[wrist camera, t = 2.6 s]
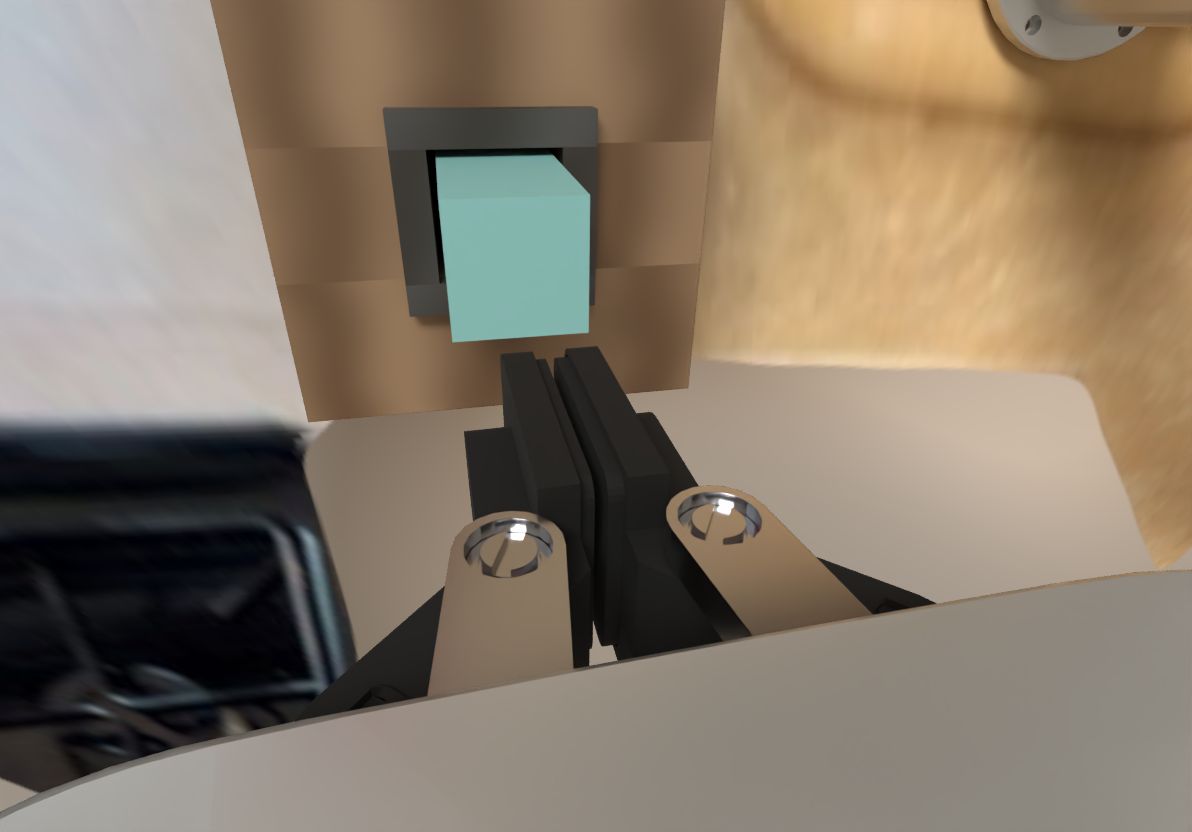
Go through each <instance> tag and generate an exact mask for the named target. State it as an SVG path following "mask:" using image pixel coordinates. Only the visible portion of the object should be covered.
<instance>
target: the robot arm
mask: <svg viewBox="0 0 1192 832" xmlns="http://www.w3.org/2000/svg"><path fill="white" fill-rule="evenodd" d="M986 1H987V3H988V6H989V9H990V11H991V14H992V17H993V20H994V21H995V23H996V24H997V26H998V27H999V29H1000V30H1001V32H1002V33H1003V35H1004V36H1005V38H1007V39H1008V40H1009V41H1010V42H1011V43H1012V44H1013V45H1015V46H1016V47H1017V48H1018V49H1019V50H1021V51H1023V52H1025V53H1028V54H1030V55H1032V56H1034V57H1036V58H1043V59H1050V60H1082V59H1086V58H1090V57H1095V56H1099V55H1101V54H1103V53H1105V52H1108V51H1110V50H1112V49H1114V48H1117V47H1119V46H1121V45H1122V44H1124V43H1125V42H1127V41H1128V40H1130V39H1131V38H1133V37H1134V36H1136V35H1137V34H1139V33H1140V32H1142V31H1143V30H1144V29H1145V28H1146V27H1192V0H986ZM500 366H501V382H502V398H503V414H504V427H502V428H493V429H484V430H473V431H464V437H465V447H466V458H467V468H468V478H469V488H470V497H471V506H472V515H473V522H472V523H470V524H468V525H467V526H465V527H464V528H463V529H462V530H461V532H460V533H459V534H458V535H457V536H456V537H455V540H454V542H453V545H452V547H451V551H450V558H449V563H448V570H447V576H446V583H445V586H444V587H443V588H442V589H441V590H439V591H438V592H437V593H436V594H435V595H434V596H432V597H431V598H430V599H429V600H428V601H427V602H426V603H424V604H423V605H422V606H421V607H420V608H419V609H418V610H416V611H415V612H414V613H413V614H412V615H411V616H409V617H408V618H407V619H406V620H405V621H404V622H403V623H401V624H400V625H399V626H398V627H397V628H396V629H395V630H393V631H392V632H391V633H390V634H389V635H388V636H387V637H385V638H384V639H383V640H382V641H381V642H380V643H379V644H377V645H376V646H375V647H374V648H373V649H372V650H370V651H369V652H368V653H367V654H366V655H365V656H364V657H362V658H361V659H360V660H359V661H358V662H357V663H355V664H354V665H353V666H352V667H351V668H350V669H349V670H347V671H346V672H345V673H344V674H343V675H342V676H341V677H339V678H338V679H337V680H336V681H335V682H334V683H332V684H331V685H330V686H329V687H328V688H327V689H326V690H324V691H323V692H322V693H321V694H320V695H319V696H318V697H316V698H315V699H314V700H313V701H312V702H311V703H310V704H309V705H308V706H307V707H306V708H305V709H304V711H303V712H302V713H301V714H300V715H299V716H298V717H297V718H296V720H295V722H291V723H286V724H282V725H277V726H273V727H268V728H264V729H259V730H255V731H250V732H246V733H241V734H237V735H232V736H228V737H223V738H218V739H214V740H209V741H205V742H200V743H196V744H191V745H187V746H182V747H178V748H174V749H171V750H167V751H164V752H160V753H157V754H154V755H150V756H147V757H143V758H140V759H136V760H133V761H129V762H126V763H122V764H119V765H115V766H112V767H109V768H106V769H104V770H101V771H98V772H96V773H93V774H90V775H88V776H85V777H82V778H80V779H77V780H74V781H71V782H69V783H66V784H63V785H61V786H58V787H55V788H53V789H50V790H47V791H45V792H42V793H39V794H37V795H35V796H33V797H30V798H29V799H27V800H24V801H22V802H20V803H18V804H16V805H14V806H11V807H9V808H7V809H5V810H3V811H1V812H0V832H1192V570H1167V571H1152V572H1151V571H1149V572H1133V573H1126V574H1119V575H1111V576H1105V577H1097V578H1090V579H1083V580H1075V581H1069V582H1061V583H1054V584H1048V585H1043V586H1037V587H1031V588H1025V589H1019V590H1014V591H1008V592H1002V593H996V594H990V595H985V596H979V597H973V598H967V599H962V600H956V601H950V602H944V603H938V604H936V603H935V602H932V601H930V600H928V599H926V598H924V597H922V596H920V595H917V594H915V593H912V592H910V591H907V590H904V589H901V588H898V587H896V586H893V585H891V584H888V583H885V582H883V581H880V580H877V579H874V578H872V577H869V576H866V575H863V574H861V573H858V572H856V571H853V570H850V569H847V568H845V567H842V566H839V565H837V564H834V563H831V562H829V561H826V560H823V559H820V558H818V557H815V556H814V555H813V554H812V552H811V551H810V550H809V549H807V547H806V546H805V545H804V544H803V543H801V541H800V540H799V539H798V538H797V537H796V536H795V535H794V534H793V533H792V532H791V531H790V530H789V529H788V528H787V527H786V526H785V525H784V524H783V523H782V522H781V521H780V520H779V519H778V518H777V517H776V516H775V515H774V514H773V513H772V512H771V511H770V510H769V509H768V508H767V507H766V506H765V505H764V504H762V503H761V502H760V501H758V500H757V499H756V498H755V497H753V496H751V495H749V494H746V493H744V492H742V491H740V490H737V489H732V488H729V487H725V486H711V485H707V486H698V484H697V483H696V481H695V480H694V478H693V476H692V475H691V473H690V471H689V470H688V468H687V467H686V465H685V463H684V462H683V460H682V458H681V457H680V455H679V453H678V452H677V450H676V449H675V447H674V446H673V444H672V442H671V440H670V439H669V437H668V436H667V434H666V432H665V431H664V429H663V427H662V426H661V424H660V423H659V421H658V419H657V418H656V416H655V415H654V414H653V413H651V412H646V413H636V412H635V411H634V409H633V407H632V405H631V404H630V402H629V400H628V398H627V397H626V395H625V393H624V391H623V390H622V388H621V386H620V384H619V383H618V381H617V379H616V377H615V375H614V374H613V372H612V370H611V368H610V367H609V365H608V363H607V361H606V360H605V358H604V356H603V354H602V353H601V351H600V349H599V348H598V347H597V346H591V347H579V348H567V349H566V350H565V354H564V357H558V358H554V378H553V376H552V373H551V370H550V368H549V365H548V363H547V360H546V359H535V356H534V353H533V351H530V352H518V353H506V354H501V355H500ZM593 622H594V625H595V628H596V632H597V635H598V638H599V641H600V644H601V646H609V645H613V647H614V650H615V654H616V657H617V660H618V661H614V662H608V663H603V664H598V665H593V666H589V649H591V648H592V642H593Z"/></svg>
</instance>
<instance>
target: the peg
mask: <svg viewBox="0 0 1192 832" xmlns="http://www.w3.org/2000/svg"><path fill="white" fill-rule="evenodd" d="M435 156H436V172H437V188H438V203H439V213H440V223H441V233H442V243H443V253H444V263H445V273H446V283H447V293H448V303H449V313H450V323H451V333H452V342H465V341H479V340H493V339H507V338H521V337H535V336H549V335H563V334H577V333H589V257H590V194H589V193H588V192H587V191H586V190H585V189H584V188H583V187H582V186H581V185H580V183H579V182H578V181H577V180H576V179H575V178H574V177H573V176H572V175H571V174H570V173H569V172H568V171H567V170H566V168H565V167H564V166H563V165H562V164H561V163H560V162H559V161H558V160H557V159H556V158H555V157H554V156H553V155H552V153H551V152H550V151H549V150H548V149H547V148H496V149H439V150H435Z"/></svg>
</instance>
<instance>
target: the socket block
mask: <svg viewBox="0 0 1192 832" xmlns="http://www.w3.org/2000/svg"><path fill="white" fill-rule="evenodd" d="M210 1H211V6H212V10H213V14H214V19H215V23H216V27H217V31H218V36H219V40H220V44H221V49H222V53H223V57H224V61H225V66H226V70H227V74H228V79H229V83H230V87H231V92H232V96H233V100H234V104H235V109H236V113H237V117H238V122H239V126H240V130H241V135H242V139H243V143H244V147H245V152H246V156H247V160H248V165H249V169H250V173H251V177H252V182H253V186H254V190H255V195H256V199H257V203H258V208H259V212H260V216H261V220H262V225H263V229H264V233H265V238H266V242H267V246H268V251H269V255H270V259H271V263H272V268H273V272H274V276H275V281H276V285H277V289H278V293H279V298H280V302H281V306H282V311H283V315H284V319H285V324H286V328H287V332H288V336H289V341H290V345H291V349H292V354H293V358H294V362H295V367H296V371H297V375H298V379H299V384H300V388H301V392H302V397H303V401H304V405H305V409H306V414H307V418H308V422H317V421H328V420H339V419H350V418H361V417H372V416H383V415H395V414H405V413H415V412H428V411H439V410H450V409H461V408H472V407H484V406H494V405H503V398H502V382H501V366H500V355H501V354H506V353H518V352H530V351H533V353H534V356H535V359H546V360H547V363H548V365H549V368H550V370H551V373H552V376H553V378H554V358H558V357H564V354H565V350H566V349H567V348H579V347H591V346H597V347H598V348H599V349H600V351H601V353H602V354H603V356H604V358H605V360H606V361H607V363H608V365H609V367H610V368H611V370H612V372H613V374H614V375H615V377H616V379H617V381H618V383H619V384H620V386H621V388H622V390H623V391H624V393H625V394H628V393H639V392H650V391H661V390H672V389H684V388H688V385H689V374H690V364H691V354H692V343H693V333H694V322H695V312H696V301H697V291H698V281H699V270H700V260H701V249H702V239H703V229H704V218H705V208H706V197H707V187H708V177H709V166H710V156H711V145H712V135H713V124H714V114H715V104H716V93H717V83H718V72H719V62H720V52H721V41H722V31H723V20H724V10H725V0H210ZM496 148H547V149H548V150H549V151H550V152H551V153H552V155H553V156H554V157H555V158H556V159H557V160H558V161H559V162H560V163H561V164H562V165H563V166H564V167H565V168H566V170H567V171H568V172H569V173H570V174H571V175H572V176H573V177H574V178H575V179H576V180H577V181H578V182H579V183H580V185H581V186H582V187H583V188H584V189H585V190H586V191H587V192H588V193H589V194H590V257H589V333H577V334H563V335H549V336H535V337H521V338H507V339H493V340H479V341H465V342H452V333H451V323H450V313H449V303H448V293H447V283H446V273H445V263H444V253H443V243H442V233H441V223H440V217H436V208H435V198H434V188H433V179H432V169H431V159H430V150H439V149H496Z"/></svg>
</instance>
